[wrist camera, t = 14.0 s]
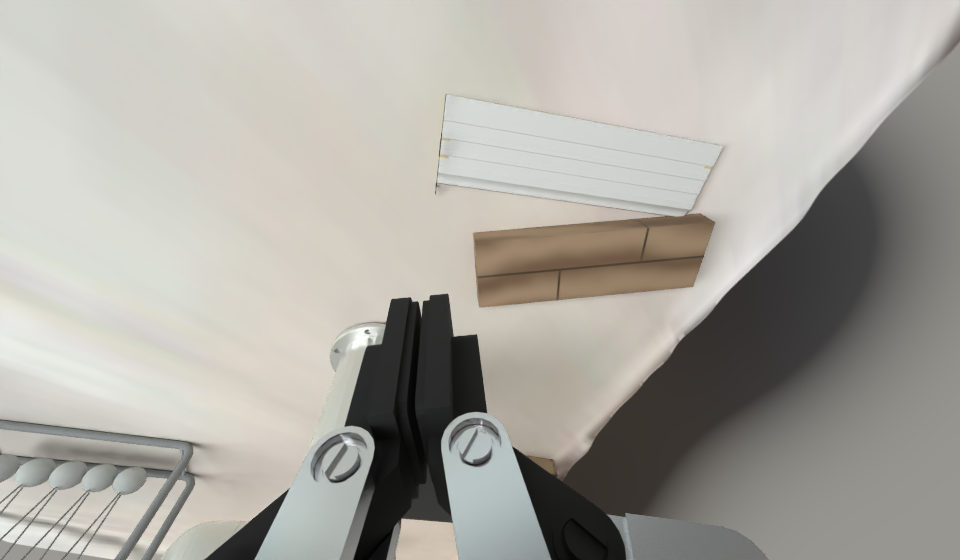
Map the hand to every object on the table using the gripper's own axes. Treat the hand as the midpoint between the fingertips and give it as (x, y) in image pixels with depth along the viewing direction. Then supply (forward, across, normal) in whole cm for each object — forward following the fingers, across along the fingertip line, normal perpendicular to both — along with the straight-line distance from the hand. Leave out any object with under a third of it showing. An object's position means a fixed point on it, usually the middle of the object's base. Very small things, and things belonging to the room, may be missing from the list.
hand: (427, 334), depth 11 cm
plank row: (+29, -17, +14) cm, 37 cm away
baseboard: (+30, -15, +4) cm, 34 cm away
